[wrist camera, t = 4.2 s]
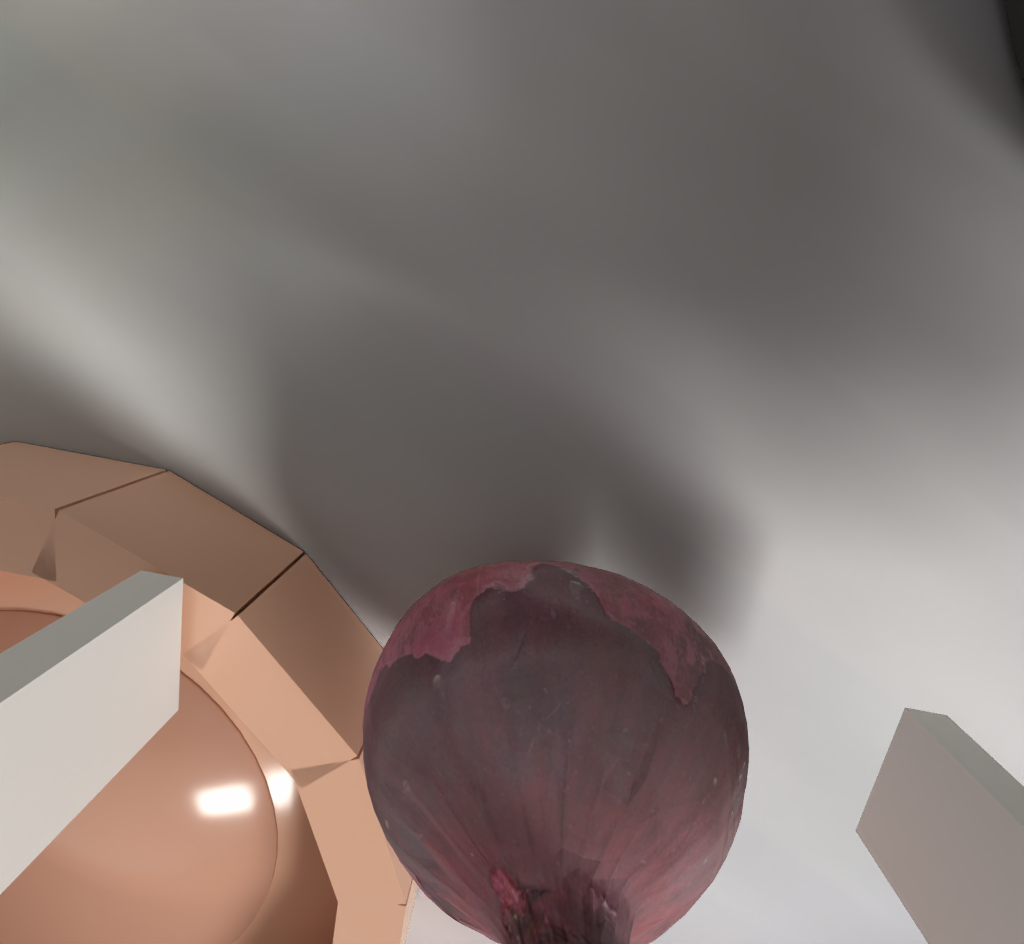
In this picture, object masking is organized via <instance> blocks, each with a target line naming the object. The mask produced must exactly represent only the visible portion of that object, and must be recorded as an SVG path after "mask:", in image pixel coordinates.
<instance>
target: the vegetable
mask: <svg viewBox="0 0 1024 944" xmlns="http://www.w3.org/2000/svg"><path fill="white" fill-rule="evenodd" d="M362 729H363V761H364V769H365V775H366V781H367V787H368V791H369V795H370V798H371V802H372V805H373V808H374V811H375V814H376V816H377V818H378V821H379V823H380V825H381V828H382V830H383V832H384V834H385V837H386V839H387V841H388V842H389V844H390V845H391V847H392V848H393V850H394V852H395V854H396V855H397V857H398V859H399V861H400V862H401V864H402V865H403V866H404V868H405V869H406V870H407V872H408V873H409V874H410V876H411V877H412V878H413V880H414V881H415V882H416V884H417V885H418V886H419V887H420V889H421V890H422V891H423V892H424V894H425V895H426V896H427V897H428V898H429V899H431V900H432V901H433V902H434V903H435V904H436V905H437V906H438V907H439V908H440V909H441V910H443V911H444V912H445V913H446V914H447V915H449V916H450V917H452V918H453V919H454V920H456V921H458V922H459V923H461V924H463V925H465V926H467V927H469V928H471V929H473V930H475V931H477V932H479V933H481V934H483V935H485V936H486V937H488V938H489V939H491V940H493V941H495V942H497V943H500V944H649V943H651V942H653V941H654V940H655V939H657V938H658V937H659V936H661V935H662V934H663V933H664V932H666V931H667V930H668V929H669V928H670V927H671V926H672V925H673V924H675V923H676V922H677V921H678V920H679V919H681V918H682V917H683V916H684V915H685V914H686V913H687V912H688V911H689V909H690V908H691V907H692V906H693V905H694V904H695V902H696V901H697V900H698V899H699V898H700V897H701V895H702V894H703V893H704V892H705V891H706V889H707V888H708V887H709V886H710V884H711V883H712V882H713V880H714V879H715V877H716V875H717V873H718V871H719V870H720V868H721V866H722V864H723V862H724V861H725V859H726V857H727V854H728V852H729V850H730V847H731V845H732V843H733V840H734V837H735V834H736V832H737V829H738V826H739V823H740V820H741V814H742V807H743V799H744V792H745V788H746V782H747V773H748V763H749V744H748V730H747V721H746V717H745V712H744V706H743V702H742V699H741V696H740V693H739V690H738V687H737V684H736V681H735V678H734V676H733V674H732V672H731V669H730V667H729V665H728V664H727V662H726V660H725V659H724V657H723V655H722V654H721V652H720V651H719V649H718V647H717V646H716V644H715V643H714V642H713V641H712V640H711V639H710V637H709V636H708V635H707V634H706V633H705V632H704V631H703V630H702V629H701V628H700V626H699V625H698V624H697V623H695V622H694V621H693V620H692V619H691V618H690V617H689V616H687V615H686V614H685V613H684V612H683V611H682V610H681V609H680V608H678V607H677V606H676V605H675V604H673V603H672V602H671V601H669V600H667V599H666V598H664V597H662V596H661V595H659V594H658V593H656V592H654V591H653V590H651V589H649V588H647V587H646V586H644V585H642V584H639V583H637V582H635V581H633V580H630V579H628V578H626V577H624V576H622V575H619V574H616V573H612V572H609V571H606V570H601V569H597V568H593V567H588V566H583V565H579V564H574V563H569V562H554V561H537V560H534V561H507V562H500V563H493V564H487V565H481V566H478V567H475V568H471V569H468V570H465V571H462V572H460V573H458V574H456V575H454V576H452V577H450V578H448V579H446V580H444V581H442V582H441V583H439V584H438V585H437V586H435V587H434V588H433V589H431V590H430V591H429V592H428V593H426V594H425V595H424V596H423V597H422V598H421V599H419V600H418V601H417V602H416V603H415V604H414V605H413V606H412V607H411V608H410V609H409V610H408V612H407V613H406V614H405V615H404V616H403V618H402V619H401V620H400V622H399V623H398V624H397V626H396V627H395V629H394V631H393V633H392V635H391V636H390V638H389V640H388V642H387V644H386V645H385V647H384V649H383V651H382V653H381V655H380V657H379V659H378V661H377V663H376V666H375V668H374V671H373V674H372V677H371V681H370V684H369V687H368V691H367V696H366V700H365V705H364V714H363V727H362Z"/></svg>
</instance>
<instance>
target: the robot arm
mask: <svg viewBox="0 0 1024 944" xmlns="http://www.w3.org/2000/svg"><path fill="white" fill-rule="evenodd" d="M1005 1H1006V9H1007V14H1008V19H1009V24H1010V30H1011V35H1012V40H1013V44H1014V48H1015V52H1016V55H1017V59H1018V63H1019V66H1020V70H1021V73H1022V76H1023V79H1024V0H1005ZM182 598H183V578H180V577H174V576H169V575H163V574H158V573H153V572H147V571H142V570H141V571H139V572H138V573H136V574H134V575H132V576H131V577H129V578H127V579H126V580H124V581H122V582H121V583H119V584H117V585H116V586H114V587H112V588H110V589H109V590H107V591H105V592H104V593H102V594H100V595H99V596H97V597H95V598H93V599H92V600H90V601H88V602H87V603H85V604H83V605H82V606H80V607H78V608H77V609H75V610H73V611H71V612H70V613H68V614H66V615H65V616H63V617H61V618H60V619H58V620H56V621H55V622H53V623H51V624H49V625H48V626H46V627H44V628H43V629H41V630H39V631H38V632H36V633H34V634H33V635H31V636H29V637H27V638H26V639H24V640H22V641H21V642H19V643H17V644H16V645H14V646H12V647H11V648H9V649H7V650H5V651H4V652H2V653H0V894H1V893H2V892H3V891H4V890H5V889H6V888H7V887H8V886H9V885H10V884H11V883H12V882H13V881H14V880H15V879H16V878H17V877H18V876H19V875H20V874H21V873H22V872H23V871H24V870H25V869H26V868H27V866H28V865H29V864H30V863H31V862H32V861H33V860H34V859H35V858H36V857H37V856H38V855H39V854H40V853H41V852H42V851H43V850H44V849H45V848H46V847H47V846H48V845H49V844H50V843H51V842H52V841H53V840H54V838H55V837H56V836H57V835H58V834H59V833H60V832H61V831H62V830H63V829H64V828H65V827H66V826H67V825H68V824H69V823H70V822H71V821H72V820H73V819H74V818H75V817H76V816H77V815H78V814H79V813H80V812H81V810H82V809H83V808H84V807H85V806H86V805H87V804H88V803H89V802H90V801H91V800H92V799H93V798H94V797H95V796H96V795H97V794H98V793H99V792H100V791H101V790H102V789H103V788H104V787H105V786H106V785H107V784H108V782H109V781H110V780H111V779H112V778H113V777H114V776H115V775H116V774H117V773H118V772H119V771H120V770H121V769H122V768H123V767H124V766H125V765H126V764H127V763H128V762H129V761H130V760H131V759H132V758H133V757H134V756H135V754H136V753H137V752H138V751H139V750H140V749H141V748H142V747H143V746H144V745H145V744H146V743H147V742H148V741H149V740H150V739H151V738H152V737H153V736H154V735H155V734H156V733H157V732H158V731H159V730H160V729H161V728H162V726H163V725H164V724H165V723H166V722H167V721H168V720H169V719H170V718H171V717H172V716H173V715H174V714H175V713H176V712H177V711H178V709H179V681H180V653H181V626H182ZM856 832H857V834H858V835H859V837H860V838H861V840H862V841H863V843H864V844H865V846H866V848H867V849H868V851H869V852H870V854H871V855H872V857H873V858H874V860H875V862H876V863H877V865H878V866H879V868H880V869H881V871H882V872H883V874H884V875H885V877H886V879H887V880H888V882H889V883H890V885H891V886H892V888H893V889H894V891H895V893H896V894H897V896H898V897H899V899H900V900H901V902H902V903H903V905H904V907H905V908H906V910H907V911H908V913H909V914H910V916H911V917H912V919H913V920H914V922H915V924H916V925H917V927H918V928H919V930H920V931H921V933H922V934H923V936H924V938H925V939H926V941H927V942H928V944H1024V786H1022V785H1021V784H1020V783H1019V782H1018V781H1017V780H1016V779H1015V778H1014V777H1013V776H1012V775H1011V774H1010V773H1008V772H1007V771H1006V770H1005V769H1004V768H1003V767H1002V766H1001V765H1000V764H999V763H998V762H997V761H996V760H994V759H993V758H992V757H991V756H990V755H989V754H988V753H987V752H986V751H985V750H984V749H983V748H982V747H980V746H979V745H978V744H977V743H976V742H975V741H974V740H973V739H972V738H971V737H970V736H969V735H968V734H966V733H965V732H964V731H963V730H962V729H961V728H960V727H959V726H958V725H957V724H956V723H955V722H954V721H952V720H951V719H950V718H949V717H948V716H947V715H942V714H937V713H931V712H926V711H920V710H915V709H909V708H905V709H904V712H903V714H902V717H901V719H900V722H899V724H898V727H897V729H896V731H895V734H894V736H893V739H892V741H891V744H890V746H889V749H888V751H887V754H886V756H885V759H884V761H883V764H882V766H881V769H880V771H879V774H878V776H877V779H876V781H875V784H874V786H873V789H872V791H871V794H870V796H869V799H868V801H867V804H866V806H865V808H864V811H863V813H862V816H861V818H860V821H859V823H858V826H857V828H856Z"/></svg>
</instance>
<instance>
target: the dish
mask: <svg viewBox="0 0 1024 944" xmlns="http://www.w3.org/2000/svg"><path fill="white" fill-rule="evenodd" d="M303 552H304V551H302V550H300V549H299V548H297V547H295V546H294V545H292V544H290V543H289V542H287V541H285V540H284V539H282V538H280V537H279V536H277V535H275V534H274V533H272V532H270V531H269V530H267V529H265V528H264V527H262V526H260V525H259V524H257V523H255V522H254V521H252V520H250V519H249V518H247V517H245V516H244V515H242V514H240V513H239V512H237V511H235V510H234V509H232V508H230V507H229V506H227V505H225V504H224V503H222V502H220V501H219V500H217V499H215V498H214V497H212V496H210V495H209V494H207V493H205V492H204V491H202V490H200V489H199V488H197V487H195V486H194V485H192V484H190V483H189V482H187V481H185V480H184V479H182V478H180V477H179V476H177V475H175V474H174V473H172V472H170V471H168V472H166V470H165V469H160V468H154V467H149V466H144V465H138V464H133V463H128V462H122V461H117V460H111V459H106V458H101V457H95V456H90V455H85V454H79V453H74V452H69V451H63V450H58V449H53V448H47V447H42V446H37V445H31V444H26V443H21V442H8V443H3V444H0V653H2V652H4V651H5V650H7V649H9V648H11V647H12V646H14V645H16V644H17V643H19V642H21V641H22V640H24V639H26V638H27V637H29V636H31V635H33V634H34V633H36V632H38V631H39V630H41V629H43V628H44V627H46V626H48V625H49V624H51V623H53V622H55V621H56V620H58V619H60V618H61V617H63V616H65V615H66V614H68V613H70V612H71V611H73V610H75V609H77V608H78V607H80V606H82V605H83V604H85V603H87V602H88V601H90V600H92V599H93V598H95V597H97V596H99V595H100V594H102V593H104V592H105V591H107V590H109V589H110V588H112V587H114V586H116V585H117V584H119V583H121V582H122V581H124V580H126V579H127V578H129V577H131V576H132V575H134V574H136V573H138V572H139V571H141V570H142V571H147V572H153V573H158V574H163V575H169V576H174V577H180V578H183V598H182V626H181V653H180V681H179V709H178V711H177V712H176V713H175V714H174V715H173V716H172V717H171V718H170V719H169V720H168V721H167V722H166V723H165V724H164V725H163V726H162V728H161V729H160V730H159V731H158V732H157V733H156V734H155V735H154V736H153V737H152V738H151V739H150V740H149V741H148V742H147V743H146V744H145V745H144V746H143V747H142V748H141V749H140V750H139V751H138V752H137V753H136V754H135V756H134V757H133V758H132V759H131V760H130V761H129V762H128V763H127V764H126V765H125V766H124V767H123V768H122V769H121V770H120V771H119V772H118V773H117V774H116V775H115V776H114V777H113V778H112V779H111V780H110V781H109V782H108V784H107V785H106V786H105V787H104V788H103V789H102V790H101V791H100V792H99V793H98V794H97V795H96V796H95V797H94V798H93V799H92V800H91V801H90V802H89V803H88V804H87V805H86V806H85V807H84V808H83V809H82V810H81V812H80V813H79V814H78V815H77V816H76V817H75V818H74V819H73V820H72V821H71V822H70V823H69V824H68V825H67V826H66V827H65V828H64V829H63V830H62V831H61V832H60V833H59V834H58V835H57V836H56V837H55V838H54V840H53V841H52V842H51V843H50V844H49V845H48V846H47V847H46V848H45V849H44V850H43V851H42V852H41V853H40V854H39V855H38V856H37V857H36V858H35V859H34V860H33V861H32V862H31V863H30V864H29V865H28V866H27V868H26V869H25V870H24V871H23V872H22V873H21V874H20V875H19V876H18V877H17V878H16V879H15V880H14V881H13V882H12V883H11V884H10V885H9V886H8V887H7V888H6V889H5V890H4V891H3V892H2V893H1V894H0V944H405V942H406V938H407V934H408V929H409V925H410V920H411V916H412V912H413V907H414V903H415V899H416V893H417V887H418V885H417V884H416V882H415V881H414V880H413V878H412V877H411V876H410V874H409V873H408V872H407V870H406V869H405V868H404V866H403V865H402V864H401V862H400V861H399V859H398V857H397V855H396V854H395V852H394V850H393V848H392V847H391V845H390V844H389V842H388V841H387V839H386V837H385V834H384V832H383V830H382V828H381V825H380V823H379V821H378V818H377V816H376V814H375V811H374V808H373V805H372V802H371V798H370V795H369V791H368V787H367V781H366V775H365V769H364V761H363V729H362V727H363V714H364V705H365V700H366V696H367V691H368V687H369V684H370V681H371V677H372V674H373V671H374V668H375V666H376V663H377V661H378V659H379V657H380V655H381V653H382V651H383V648H382V647H381V646H380V645H379V643H378V642H377V641H376V640H375V639H374V637H373V636H372V635H371V634H370V632H369V631H368V630H367V629H366V627H365V626H364V625H363V624H362V622H361V621H360V620H359V619H358V617H357V616H356V615H355V614H354V612H353V611H352V610H351V609H350V608H349V606H348V605H347V604H346V603H345V601H344V600H343V599H342V598H341V596H340V595H339V594H338V593H337V591H336V590H335V589H334V588H333V586H332V585H331V584H330V583H329V581H328V580H327V579H326V578H325V577H324V575H323V574H322V573H321V572H320V570H319V569H318V568H317V567H316V565H315V564H314V563H313V562H312V560H311V559H310V558H309V557H308V555H307V554H305V555H304V556H302V557H301V555H302V553H303ZM300 557H301V558H300Z"/></svg>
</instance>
